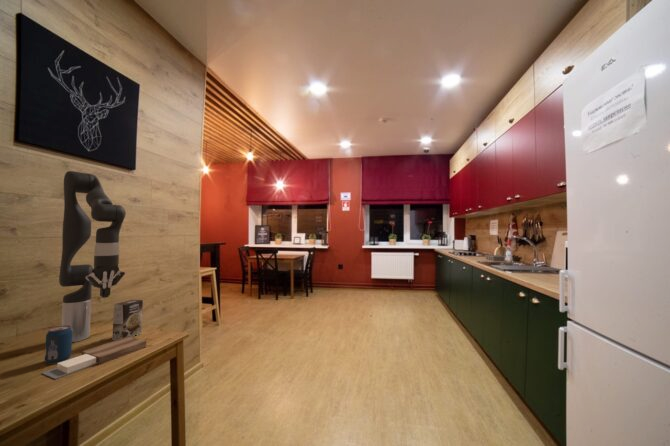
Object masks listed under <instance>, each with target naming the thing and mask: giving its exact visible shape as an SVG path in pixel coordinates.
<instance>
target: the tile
mask: <svg viewBox="0 0 670 446" xmlns="http://www.w3.org/2000/svg"><path fill="white" fill-rule="evenodd" d="M95 363H96V357H94V356H91V355H88V354H84V355H82V354H81V355H78V356H76V357H73V358H68V359H67V360H65V361H63V362H60V363H56V364H57V366H56V368H57V369H58V370H60V371H63V372H65V373H70V372H73V371H76V370H78V369H81V368H84V367H87V366H89V365H92V364H95Z"/></svg>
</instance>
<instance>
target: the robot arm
mask: <svg viewBox="0 0 670 446" xmlns="http://www.w3.org/2000/svg"><path fill="white" fill-rule="evenodd" d="M77 193H79V194H86V196H85V202H86V203H87V205H88V206H89V207H90V210H91V211H90V217H91V219H92V220H94V221H96V222H99V223H100V222H101V223H102V222H105V223H106V222H107V223H111V224H110V225H109V226H105V227H100V228H97V229H96V231H95V245H94V252H93V253H94V254H93V265H92V264H73V265H71V263H72V260H73V259H74V258H75V255H76V254H77V253H78V252H79V250H80V249H82V247H83V246H84V245H85V244H86V243H87V242H88V241H89V239H90V238H91V235H92V221H91V219H90V217H89V215H88V214H87V213H86V212H85V211H84V210H83V208H82V207H81V205H80V204H79V202H78V199H77ZM63 201H64V202H63V203H64V205H63V206H64V207H63V221H62V235H61V236H62V238H61V240H62V242H61V243H62V244H61V245H62V246H61V247H62V248H61V249H62V250H61V252H62V253H61V257H60V258H61V261H60V266H59V276H58V280H59V281H58V282H59V285H60V286H61V287H63V288H64V287H66V288H67V287H74V286H75V287H76V286H81V287H80V288H78V289H77V290H75V291H73V292H69V293H67V294H65V295H64V296H63V297H62V311H61V314H62V315H61V326H71V327H70V328H71V329H72V343H76V342H77V343H78V342H81V341H84V340H87V339H88V338H89V337H90V332H91V331H90V329H91V314H92V312H91V311H92V288H93V287H94V288H98V289H99V297H101V298H102V299H105V298H109V296H110V295H111V288H112V287H113V286H116V285H117V284H118V283H119V282H120V281H121V279H123V277H124V276H125V274H126V273H125V271H121V270H120V268H119V259H120V244H119V242H120V241H119V239H120V232H121V228H122V226H123V222H124V220H125V218H126V210H125V207H124V206H122V205H119V204H118V205H117V204H113V202H112V200H111V199H110V197H109V196H107V195H106V193H105V192H104V189H103V186H102V184H101V181H100V180H99V178H98V177H97V176H96V175H95V174H93V173H85V172H79V171H72V170H71V171H66V172H65V174H64V176H63ZM96 278H97V279H98V280H96ZM92 286H93V287H92Z"/></svg>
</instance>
